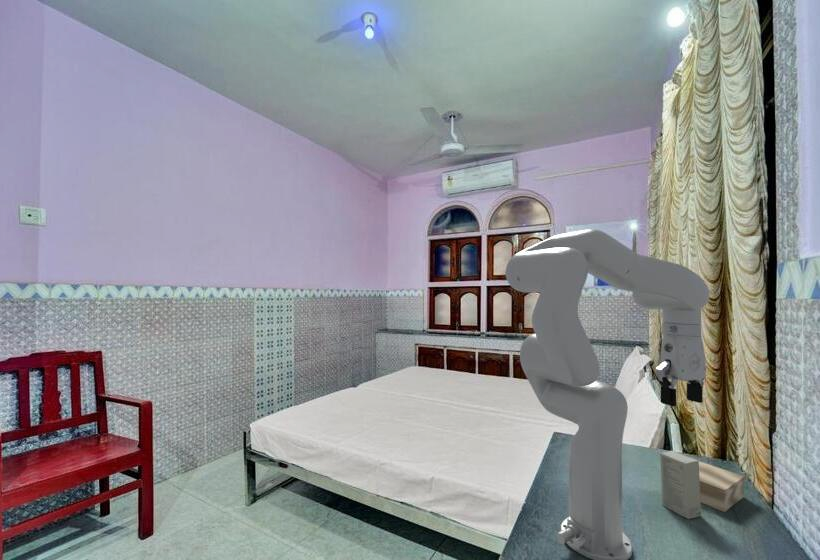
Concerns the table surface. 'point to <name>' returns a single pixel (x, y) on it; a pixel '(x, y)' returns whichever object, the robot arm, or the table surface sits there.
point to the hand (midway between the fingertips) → (681, 402)
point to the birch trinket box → (719, 487)
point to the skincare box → (680, 484)
